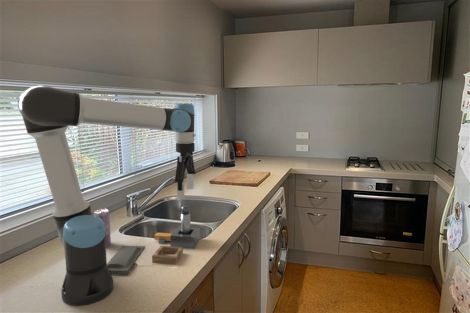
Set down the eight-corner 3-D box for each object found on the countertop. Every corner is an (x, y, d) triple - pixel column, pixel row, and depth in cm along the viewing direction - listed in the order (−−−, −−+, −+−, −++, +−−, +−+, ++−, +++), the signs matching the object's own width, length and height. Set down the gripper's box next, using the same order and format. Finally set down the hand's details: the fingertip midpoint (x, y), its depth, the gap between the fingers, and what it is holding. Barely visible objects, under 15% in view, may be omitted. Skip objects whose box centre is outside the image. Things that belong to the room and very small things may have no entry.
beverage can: (106, 240, 141) (104, 207, 139) (113, 244, 138) (112, 210, 135) (92, 245, 137) (90, 211, 134) (100, 249, 133) (98, 214, 131)
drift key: (170, 240, 138) (170, 236, 137) (154, 239, 139) (154, 235, 138) (172, 238, 141) (172, 233, 140) (157, 236, 142) (157, 232, 141)
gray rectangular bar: (189, 245, 136) (188, 208, 134) (179, 244, 137) (179, 207, 134) (191, 241, 140) (191, 205, 138) (182, 240, 141) (182, 204, 138)
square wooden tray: (175, 266, 120) (175, 258, 120) (152, 264, 122) (152, 256, 121) (182, 255, 129) (182, 247, 129) (160, 253, 130) (160, 245, 130)
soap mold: (146, 250, 134) (146, 242, 134) (128, 276, 114) (128, 267, 114) (121, 249, 134) (121, 241, 134) (100, 275, 115) (99, 266, 114)
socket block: (194, 251, 133) (194, 237, 132) (156, 248, 135) (156, 234, 134) (200, 241, 143) (200, 228, 142) (165, 238, 145) (164, 225, 144)
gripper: (185, 146, 119) (186, 202, 122) (201, 138, 143) (201, 185, 147) (165, 146, 120) (166, 201, 123) (184, 138, 144) (185, 185, 148)
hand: (185, 193), depth 135 cm, fingers open, 13 cm apart
